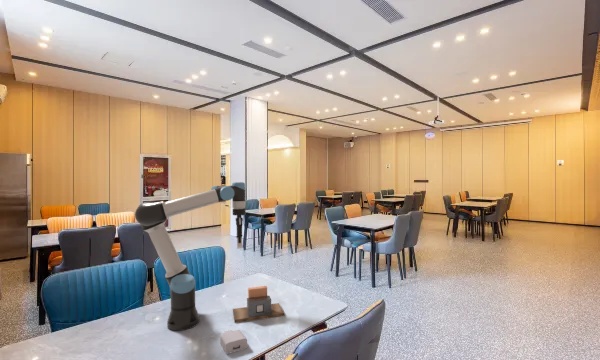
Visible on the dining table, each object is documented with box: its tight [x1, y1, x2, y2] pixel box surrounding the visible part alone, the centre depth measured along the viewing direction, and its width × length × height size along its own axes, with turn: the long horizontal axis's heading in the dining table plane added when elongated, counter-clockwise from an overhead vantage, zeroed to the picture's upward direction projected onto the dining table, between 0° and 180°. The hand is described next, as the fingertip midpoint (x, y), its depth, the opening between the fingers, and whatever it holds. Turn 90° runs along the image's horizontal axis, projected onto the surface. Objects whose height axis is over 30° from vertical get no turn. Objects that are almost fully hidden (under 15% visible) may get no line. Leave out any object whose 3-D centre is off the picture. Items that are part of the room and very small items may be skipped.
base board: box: [232, 302, 285, 324], centre depth 166 cm, size 26×14×2 cm, turn 106°
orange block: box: [247, 285, 268, 312], centre depth 164 cm, size 10×9×12 cm
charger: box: [219, 329, 248, 354], centre depth 136 cm, size 5×9×15 cm
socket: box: [246, 295, 272, 318], centre depth 163 cm, size 12×6×8 cm, turn 106°
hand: (239, 248), depth 181 cm, fingers closed
